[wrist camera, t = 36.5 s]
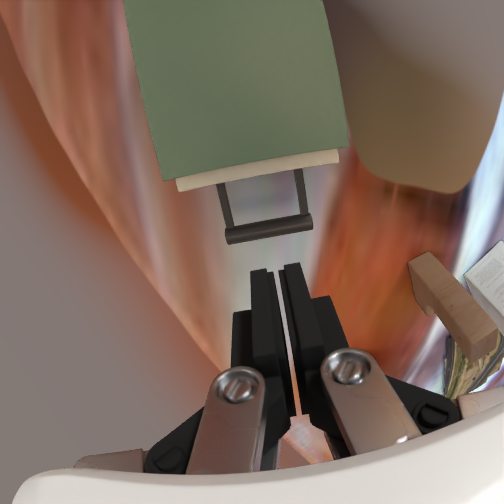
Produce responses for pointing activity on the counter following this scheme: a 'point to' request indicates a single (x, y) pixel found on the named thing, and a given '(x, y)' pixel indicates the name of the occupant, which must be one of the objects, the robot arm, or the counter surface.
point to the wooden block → (452, 307)
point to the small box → (489, 284)
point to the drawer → (256, 169)
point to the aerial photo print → (469, 368)
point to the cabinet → (235, 81)
